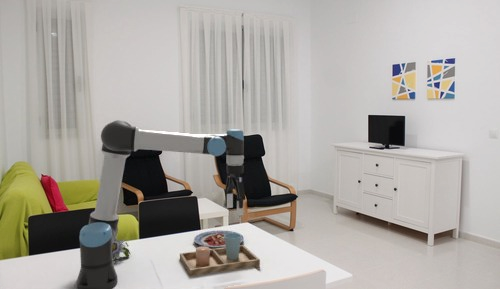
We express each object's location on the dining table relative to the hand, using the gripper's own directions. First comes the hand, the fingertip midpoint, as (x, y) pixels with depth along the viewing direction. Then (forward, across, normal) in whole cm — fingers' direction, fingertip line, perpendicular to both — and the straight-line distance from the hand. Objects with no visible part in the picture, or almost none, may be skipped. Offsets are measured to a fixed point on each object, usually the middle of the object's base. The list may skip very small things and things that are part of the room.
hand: (234, 211), depth 183 cm
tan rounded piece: (+22, 0, +15) cm, 27 cm away
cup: (+23, +3, 0) cm, 23 cm away
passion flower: (+24, +24, +50) cm, 60 cm away
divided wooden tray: (+23, 0, +7) cm, 25 cm away
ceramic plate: (+24, +28, -2) cm, 37 cm away
